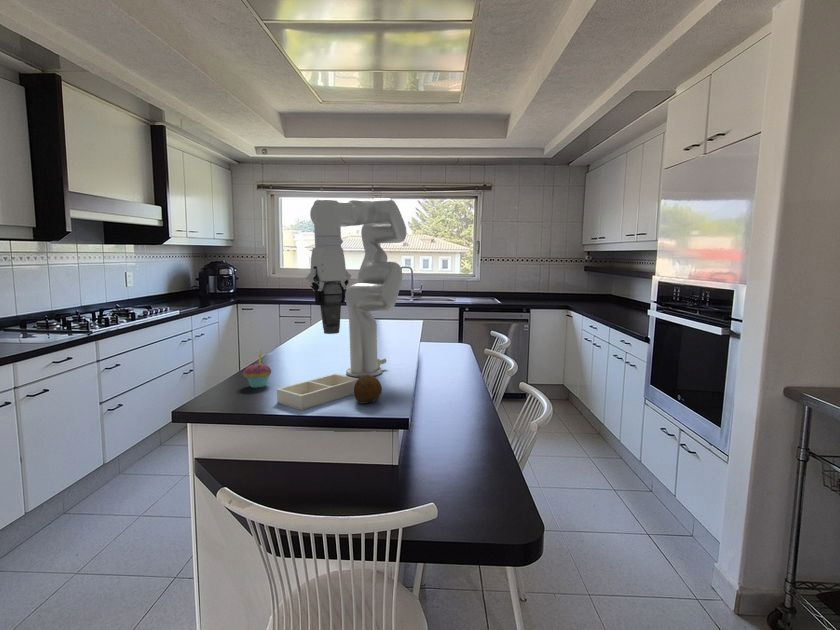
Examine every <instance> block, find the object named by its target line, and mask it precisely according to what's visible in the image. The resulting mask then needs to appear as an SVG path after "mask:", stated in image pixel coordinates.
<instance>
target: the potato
mask: <svg viewBox="0 0 840 630" xmlns="http://www.w3.org/2000/svg"><path fill="white" fill-rule="evenodd" d="M357 379H358V380H357V382H356V384H355V387H354V394H353V395H354V398H355V401H356V402H357V403H359V404H367V403H368V404H369V403H372V402H374V401H376V400H378V399H379V397H380V396H381V394H382V391H383V388H382V387H383V386H382V385H381V382H380V381H379V379H378V378H377V377H376V376H369V375H366V376H362V377H358V378H357Z"/></svg>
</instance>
